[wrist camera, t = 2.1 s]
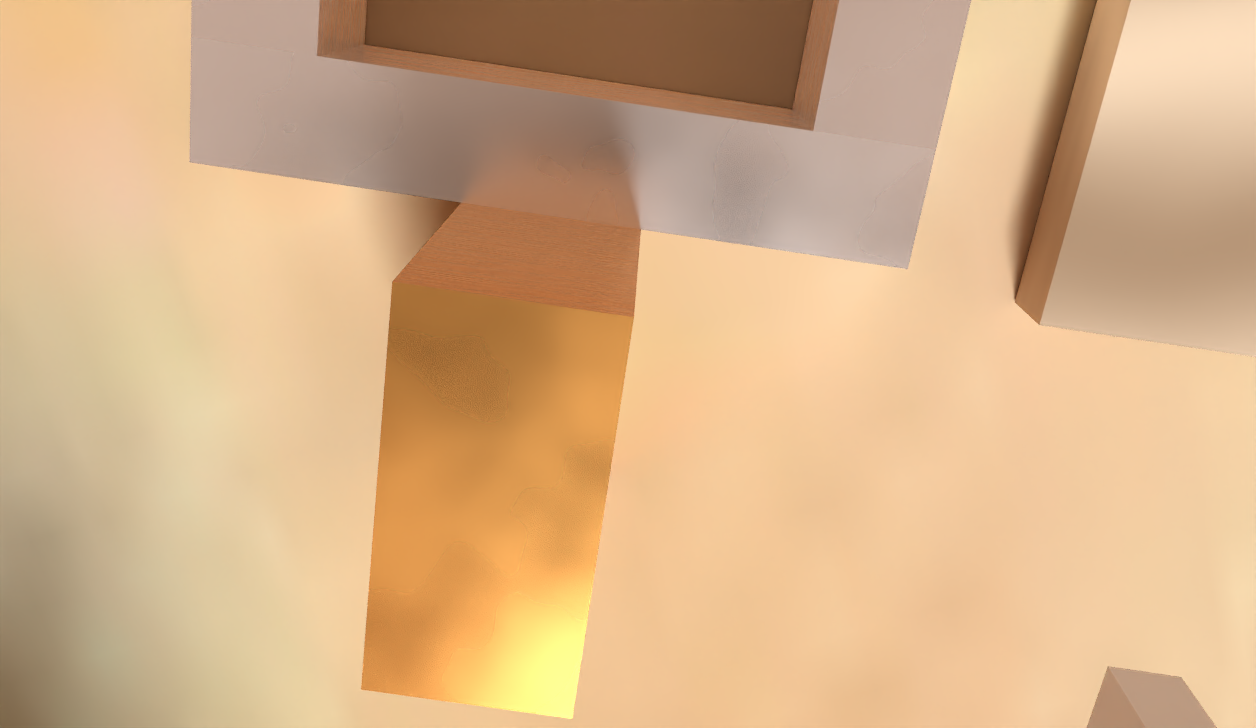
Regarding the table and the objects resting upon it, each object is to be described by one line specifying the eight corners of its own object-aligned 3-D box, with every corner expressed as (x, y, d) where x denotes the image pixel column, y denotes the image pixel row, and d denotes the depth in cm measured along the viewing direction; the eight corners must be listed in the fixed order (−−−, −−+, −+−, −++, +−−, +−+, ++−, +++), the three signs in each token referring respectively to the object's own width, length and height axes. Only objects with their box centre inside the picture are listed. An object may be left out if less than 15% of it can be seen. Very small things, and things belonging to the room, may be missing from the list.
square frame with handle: (277, -642, 17) (-23, -1124, 10) (1041, -516, 17) (1333, -891, 10) (243, 425, 23) (41, 645, 16) (813, 507, 23) (885, 762, 16)
